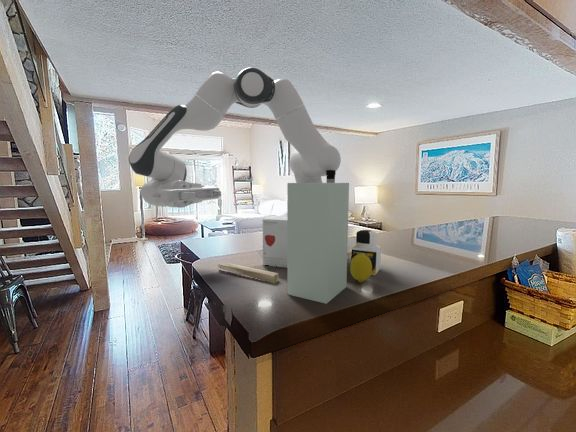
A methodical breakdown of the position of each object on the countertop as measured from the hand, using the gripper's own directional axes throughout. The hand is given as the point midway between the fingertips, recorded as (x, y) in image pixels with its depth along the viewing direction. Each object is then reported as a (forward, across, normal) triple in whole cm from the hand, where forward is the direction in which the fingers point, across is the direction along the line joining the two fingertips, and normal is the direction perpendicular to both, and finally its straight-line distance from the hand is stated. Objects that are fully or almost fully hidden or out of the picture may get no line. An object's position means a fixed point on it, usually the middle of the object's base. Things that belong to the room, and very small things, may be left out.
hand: (208, 194), depth 88 cm
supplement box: (+16, +14, +23) cm, 31 cm away
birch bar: (+15, -1, +23) cm, 27 cm away
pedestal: (+37, 0, +23) cm, 43 cm away
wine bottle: (+28, +26, +23) cm, 45 cm away
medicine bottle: (+42, +22, +23) cm, 52 cm away
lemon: (+44, +10, +23) cm, 51 cm away
